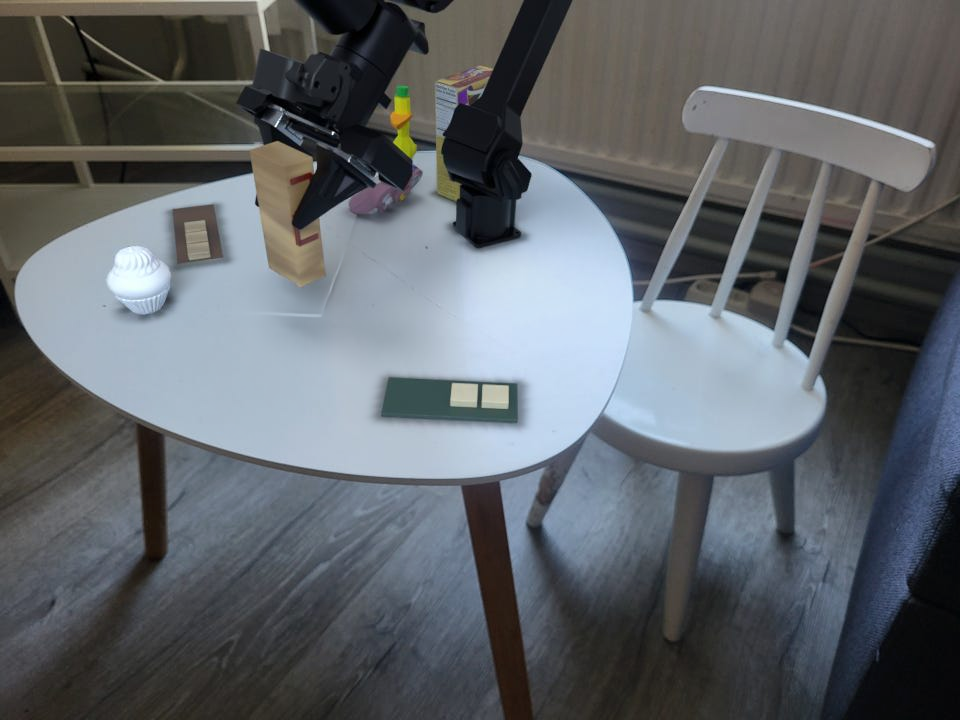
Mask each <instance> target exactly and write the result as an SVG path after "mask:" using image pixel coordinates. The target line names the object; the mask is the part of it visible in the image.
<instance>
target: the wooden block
mask: <svg viewBox="0 0 960 720" xmlns="http://www.w3.org/2000/svg"><path fill="white" fill-rule="evenodd" d="M249 156H250V163H251V168H252V173H253V181H254V186H255V192H256V193H257V199H258V203H259V207H258V210H259V216H260V223H261V228H262V235H263V240H264V246H265V247H264V248H265V252H266V253H265V254H266V258H267V265H268V269H270V270H272V271H273V272H274V273H276V274H278V275H279V276H281V277H283V278H284V279H286V280H288V281H289V282H291V283H293V284H294V285H296V286H297V287H299V288H303V287H305V286H307V285H309V284H311V283H313V282H315V281H317V280H319V279H322V278H324V277H325V276H326V266H325V257H324V248H323V239H322V230H321V222H320V217H319V218H318V219H316V220H315V221H313V222H312V223H310V224H309V225H307V226H306V227H305V228H303V229H301V230H299V229H297V228H295V227H294V226H292V224H291V222H292V220H293V217H294V215H295V212H296V209H297V207H298V205H299V203H300V201H301V199H302V197H303V195H304V193H305V191H306V189H307V187H308V185H309V183H310V181H311V179H312V177H313V175H314V173H315V167H314V158H313V157H311V156H309V155H307V154H305V153H302V152H300V151H298V150H296V149H294V148H292V147H290V146H287V145H285V144H283V143H281V142H279V141H276V142H273V143H270V144H267V145H261V146H258V147H254V148H251V149H249Z"/></svg>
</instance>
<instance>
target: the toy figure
mask: <svg viewBox="0 0 960 720" xmlns="http://www.w3.org/2000/svg"><path fill="white" fill-rule="evenodd" d="M410 97H411V94H410V93H409V86H407V85H396V93H394V98H393V100H394V110H393V111H392V113H391V114H390V117H389V119H390V125H391V126H392V128H393V129H394V130H396V131H397V136H396V137H395V139H394V140H393V141H392V142H393V143H394V144H395V145H396V146H397V147H398V148H400V149H401V150H402V151H403V152H404V153H405V154H406V155H407V156H408V157H410V158H411V159H412V160H413V158H414V157H415V156H416V154H417V150H418V145H417V144H416V143H414V141H413V139H412V138H411V136H410V127H411V119H412V116H413V112H411V111H412V110H411V109H412V108H411V98H410Z"/></svg>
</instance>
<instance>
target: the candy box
mask: <svg viewBox="0 0 960 720" xmlns="http://www.w3.org/2000/svg"><path fill="white" fill-rule="evenodd" d="M492 71H493V68H491V67H487V66H484V65H477V66H475V67H472V68H469V69H467V70H464V71H459V72H457V73H454V74H452V75H449V76H445V77H443V78H441V79H437V80H435V81H434V107H435V108H434V109H435V111H434V112H435V113H434V114H435V115H434V117H435V119H434V120H435V160H436V194H438V195H439V196H441V197H444V198H446V199H448V200H451V201H454V202H456V200H457V199H458V198H460V185H462V184H460V183H457V182H453V181H451V180H450V178H449V174H448V171H447V169H446V167H445V164H444V161H443V155H442V154H441V148H442V144H443V141H444V139H445V137H444V136H443V133H444V131H445V130H446V129H447V127H448V126H449V124H450V122H451V119H452V116H453V113H454V110H455V108H456V107H457V105H458V104H459V103H463V104H466V105H471V104H472V103H473V102H475V101H476V100H477V99H478V98H480V97H481V95H482V93H483V91H484V89H485V86H486V84H487V82H488V80H489V77H490V75H491V73H492Z"/></svg>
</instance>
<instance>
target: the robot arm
mask: <svg viewBox="0 0 960 720" xmlns="http://www.w3.org/2000/svg"><path fill="white" fill-rule="evenodd" d="M293 1H294V3H296V5H298V6H299V8H300V9H302V10H303V12H305V14H307V15H308V16H309V17H310V18H311V19H312V20H313V21H314V22H315V24H317V25H318V26H319V27H320V29H322V30H323V31H324V32H325V33H326V34H327V35H328V34H329V35H330V36H339V37H338V40H337V41H336V43H335V45H334V46H333V48H332V50H331V52H330V54H327V53H325V52H322V51H318V52H317V53H315V54H314V53H311V54H310V55H309V56H308V57H307V58H306V60H305V62H304V61H302V60H299V59H295V58H292V57H289V56H286V55H282V54H279V53H277V52H273V51H270V50H267V49H264V48H261V47H260V48H259V52H258V57H257V61H256V66H255V70H254V74H253V78H252V79H253V80H252V83H251V84H247V85H245V86H244V87H243V89H242V91H241V93H240V95H239V96H238V98H237V100H236V102H235V104H236V106H237V107H238V108H240V109H241V110H243V111H244V112H246V113H247V114H248V115H250V116H251V117H252V118H253V124H254V125H255V126H257V127H258V130H259V133H260V137H261V140H262V143H263V145H262V146H264V145H267V144H270V143H273V142H276V141H279V142H281V143H283V144H285V145H287V146H290V147H292V148H294V149H296V150H298V151H300V152H302V153H305V154H307V155H309V156H311V157H312V158H313V157H314V155H313V153H311V152H309V151H308V150H306V149H305V148H304V147H303V146H302V145H303V142H304V141H305V140H306V139H309V140H311V141H314V142H315V143H318V144H316V145H315V154H316V155H315V157H316V168H315V170H314V175H313V177H312V179H311V181H310V183H309V185H308V187H307V189H306V191H305V193H304V195H303V197H302V199H301V201H300V203H299V205H298V207H297V209H296V212H295V215H294V217H293V220H292V222H291V224H292V226H294V227H295V228H297V229H299V230H301V229H303V228H305V227H306V226H307V225H309V224H310V223H312V222H313V221H315V220H316V219H318V218H319V219H320V218H321V217H322V216H324V215H325V214H326V213H328V212H329V211H331V210H332V209H334V208H335V207H336V206H338V205H340V204H341V203H343V202H345V201H346V200H348V199H351V198H352V197H353V196H354V195H356V194H358V193H359V192H361V191H362V190H364V189H366V188H368V187H370V188H372V189H374V188H375V187H376V185H377V184H376V183H375V182H373V181H372V180H373V179H374V178H375V177H376V175H377V176H379V180H380V181H381V182H382V183H384V184H386V185H388V186H390V187H393V188H395V189H397V190H399V191H401V192H403V191H404V189H405V188H406V186H407V184H408V182H409V181H410V179H411V177H412V175H413V168H412V164H413V158H412V159H411V158H410V157H408V156H407V155H406V154H405V153H404V152H403V151H402V150H401V149H400V148H398V147H397V146H396V145H395V144H394V143H393V142H394V141H392V140H391V139H390V138H389V137H388V136H387V135H385V134H383V133H381V132H379V131H376V130H374V129H371V128H368V127H367V125H368V123H369V122H370V120H371V119H372V116H373V115H374V112H375V111H376V110H377V108H381V109H384V110H385V111H386V110H388V109H389V106H390V104H391V103H392V101H393V100H392V99H391V98H390V97H389V96H388V95H387V93H386V91H387V89H388V88H389V86H390V85H391V82H392V81H393V79H394V77H395V75H396V73H397V72H398V70H399V68H400V66H401V65H402V62H403V61H404V60H405V58H406V56H407V54H408V53H409V51H411V52H413V53H414V52H415V53H417V54H421V55H424V56H426V55H428V54H429V51H430V47H429V40H428V38H427V35H426V23H425V22H423V21H420V20H416V19H413V18H410V17H409V16H408V15H407V13H405V11H404V10H403V9H402V8H401V6H403V7H407V8H411V9H415V10H418V11H422V12H426V13H430V14H438V13H440V12H443V11H445V10H446V9H447V8H448V7H449V6H450V5H451V4H452V3H453V2H454V1H455V0H293ZM573 1H574V0H522V2H521V5H520V7H519V10H518V12H517V14H516V16H515V18H514V21H513V23H512V25H511V28H510V30H509V32H508V34H507V37H506V39H505V41H504V43H503V46H502V48H501V51H500V52H499V55H498V57H497V60H496V62H495V63H494V66H493V68H492V69H493V71H492V73H491V75H490V77H489V80H488V82H487V84H486V86H485V89H484V91H483V93H482V95H481V97H480V98H478V99H477V100H476V101H475V102H473V103H472V104H471V105H466V104H463V103H459V104H458V105H457V107H456V108H455V110H454V113H453V116H452V119H451V122H450V124H449V126H448V127H447V129H446V130H445V131H444V133H443V136H444V137H445V139H444V141H443V144H442V148H441V154H442V155H443V161H444V164H445V167H446V169H447V171H448V174H449V178H450V180H451V181H453V182H457V183H460V184H462V185H460V198H458V199H457V200H456V201H455V221H453V222H452V228H454V230H455V231H457V232H458V233H459V234H460V235H462V236H463V237H464V238H465V239H466V240H467V241H468V242H469V243H470V244H471V245H472V246H474V247H475V248H478V249H481V248H483V247H484V248H485V247H488V246H491V245H495V244H499V243H503V242H507V241H511V240H514V239H519V238H521V237H522V232H521V231H520V230H519V229H518V228H517V227H516V226H515V224H516V223H515V222H516V210H517V201H518V200H521V199H522V195H523V194H524V193H526V192H528V190H529V186H530V183H531V179H532V176H533V175H532V172H531V171H530V169H528V167H527V166H525V164H524V163H523V162H522V161H521V159H520V158H519V157H520V153H521V151H522V148H523V144H524V143H523V141H524V140H523V131H522V119H521V117H522V114H523V111H524V110H525V107H526V105H527V103H528V101H529V99H530V97H531V94H532V92H533V90H534V87H535V85H536V83H537V80H538V78H539V76H540V74H541V71H542V69H543V68H544V65H545V63H546V61H547V58H548V56H549V54H550V51H551V50H552V47H553V45H554V43H555V41H556V39H557V36H558V34H559V32H560V30H561V27H562V25H563V22H564V21H565V18H566V16H567V14H568V11H569V10H570V8H571V5H572V3H573ZM400 5H401V6H400ZM322 145H323V146H325V147H323V146H322ZM328 148H329V149H328ZM330 149H331V150H330ZM254 205H255V206H256V207H257V208H259V203H258V199H257V193H256V194H255V199H254Z"/></svg>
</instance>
